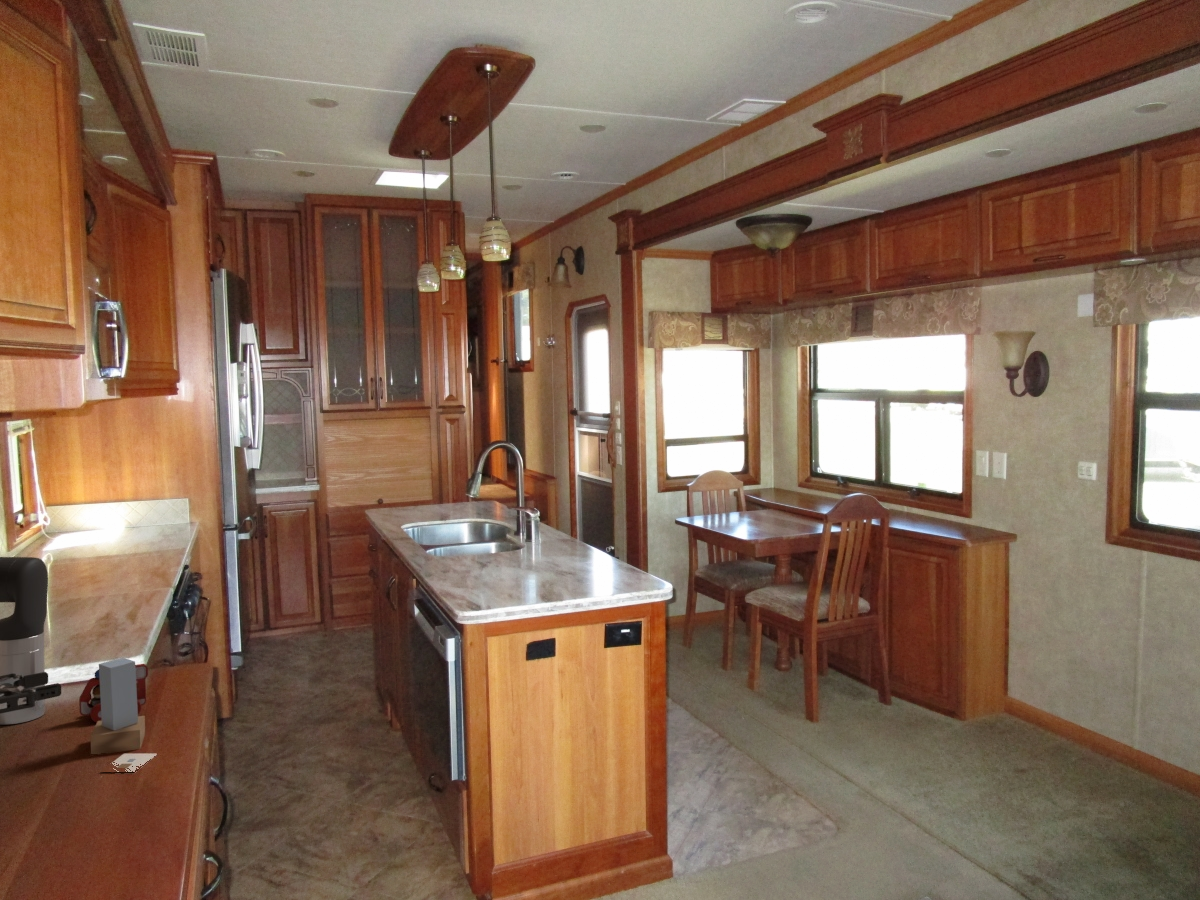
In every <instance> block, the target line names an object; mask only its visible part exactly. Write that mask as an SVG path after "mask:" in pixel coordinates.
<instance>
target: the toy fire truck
mask: <svg viewBox="0 0 1200 900" xmlns="http://www.w3.org/2000/svg"><path fill="white" fill-rule="evenodd" d="M135 669H136V689H137V709H138V715H139V714H140V713H141V712H142V707H143V706H144V705H145V704H146V702H147V686H146V685H147V684H146V683H147V680H146V679H147V677H148V675H149V667H148V665H147V664H146V663H138V664H135ZM91 692H92V693H91ZM92 696H93V697H92ZM78 701H79V706H78V707H79V714H80V716H84V717H87V716H90V719H91V721H93V722H95V723H96V724H97V722H98V721H102V716H101V697H100V679H99V669H97V670H95V672H94V677H92V678H89V679H88V681H87V683H86V684H85V687H84V688H83V690H82V691H81V694H80V696H79V700H78Z"/></svg>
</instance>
